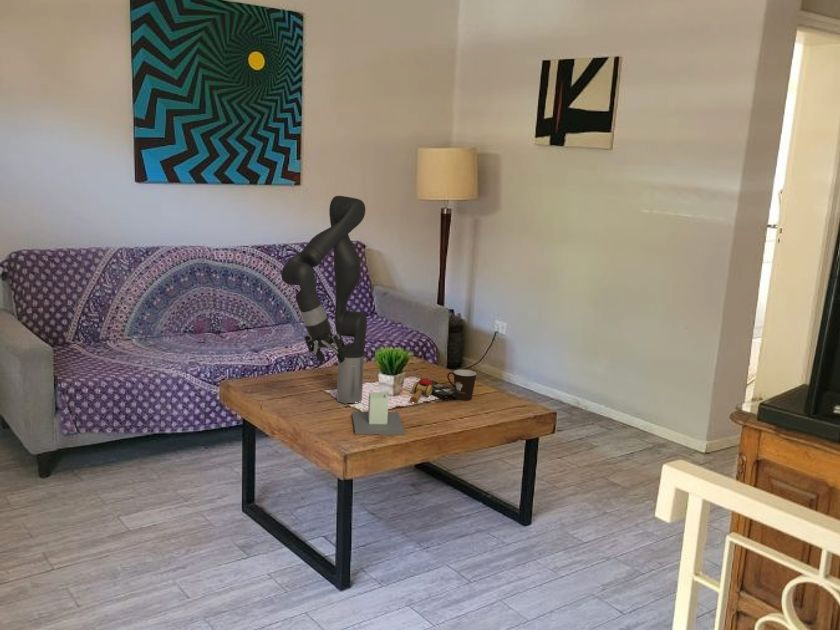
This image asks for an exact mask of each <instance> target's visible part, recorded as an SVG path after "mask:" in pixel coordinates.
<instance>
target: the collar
mask: <svg viewBox="0 0 840 630" xmlns="http://www.w3.org/2000/svg"><path fill="white" fill-rule="evenodd" d="M367 405H368V407H367V409H368V410H367V412H368V421H369V424H387V417H388V412H389V396H388V392H372V391H371V392H368V404H367Z"/></svg>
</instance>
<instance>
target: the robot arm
mask: <svg viewBox="0 0 840 630" xmlns="http://www.w3.org/2000/svg"><path fill="white" fill-rule="evenodd" d="M328 209H329V211H328V213H329V222H330V227H329V228H326V229H324V230H323V231H320V232H319V233H317V234H315V235H314V236H313V237H312V238H311V239H310V241H308V243H307V244H306V245H305V247H304V248H302V250H301V251H300V252H299V253H297V254H296V255H294V256H293V257H292V258H290V259H289V260H288V261H287V262H286V263H285V264H284V266H283V267H282V269H281V274H280V275H281V280H282V281H283V282H284V283H285V284H286V285H288V286H298V287H299V290H298V291H297V292H296V293H295V301H296V305H297V307H298V310H299V312H300V315H301V318H302V321H303V323H304V326H305V328H306V330H307V334H306V335H305V336H304V342H305V343H306V347H307V349H308V352H309V353H313V354H315V356H316V358H317V361H318V362H319V363H320V364H323V363H324V362H325V360H326V359H325V355H324V353H323V351H322V350H321V348H326V349H327V348H328V349H329V350H330V351H333V352H334V353H335V355H336V358H337V360H338V361H337V386H336V387H337V388H336V401H337V402H338V403H341V404H345V405H346V404H347V403H355V402H359V401H361V400H362V401H363V387H364V385H363V382H364V364H365V361H364V360H365V348H366V338H367V337H366V336H367V328H368V327H367V326H368V316H367V315H366V313H365V312H363V311H362V312H361V311H356V310H355V311H354V310H353V311H352V310H348V301H349V299H350V297H351V295H352V293H353V292H354V290H355V289H356V287H357V286H358V285H359V283H360V281H361V279H362V278H361V277H362V269H361V268H362V267H361V258H360V255H359V253H358V251H357V249H356V247H355V246H354V244H353V241H352V240H351V238H350V235H349V234H350V233H351V232H352V231H353V230H355V229H356V228H358V226H359V225H360V224H361V223H362V221H363V220H364V218H365V215H366V205H365V203H364V201H363V200H362V199H359V198H356V197H350V196H344V195H335V196H334V197H332V198H331V200H330V203H329V208H328ZM332 249H333V266H334V267H333V272H334V273H333V274H334V286H335V310H334V311H335V312H334V313H335V314H334V326H335V332H336V333H335V334H334V333H333V332H332V331H331V329H332V326H331V324H330V321H329V318H328V316H327V313H326V311H325V309H324V307H323V305H322V303H321V301H320V298H319V296H318V295H319V294H318V293H317V285H316V277H315V276H316V275H315V271H314V270H313V268H316V267H318V266H319V265H320V264H321V263H322V262H323V260H324V259H325V258H327V257H326V256H327V255H328V254H329V253H330V252H331V251H332ZM342 336H343V337H351V338H353V341H352V342H349V343H346V344H345V342H344V340H343V337H342ZM362 401H361V402H362ZM347 405H348V404H347Z"/></svg>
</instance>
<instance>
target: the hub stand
mask: <svg viewBox="0 0 840 630" xmlns="http://www.w3.org/2000/svg"><path fill="white" fill-rule="evenodd" d="M351 418H352V423H353V430H354V435H355V434H380V435H379V436H381V435H382V436H387V435H388V436H405V428H404V425H403V423H402V422H403V421H402V420H401V419H402V418H401V417H400V413H399V411H397V412H395V411H394V412H389V411H388V417H387V424H369V421H368V411H352V412H351Z"/></svg>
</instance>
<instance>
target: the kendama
mask: <svg viewBox="0 0 840 630" xmlns="http://www.w3.org/2000/svg"><path fill="white" fill-rule="evenodd" d="M412 385H413V386H412V389H411V392H412V393H413V395H412V396H411V397H410V399H409V402H410V403H411V402H414V403H416V404H418V401H419V399H420V398H421V396H422V394H424V396H425V397H426V398H428V397H429V395H430V394H431V395H432V392H433V388H434V386H433V385H434V384H433V381H432V380H431V379H429V378H428V377H423V378H420V379H419V380H418V381H415V382H414V383H413V384H412ZM431 395H430V396H431ZM429 398H430V397H429Z"/></svg>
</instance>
